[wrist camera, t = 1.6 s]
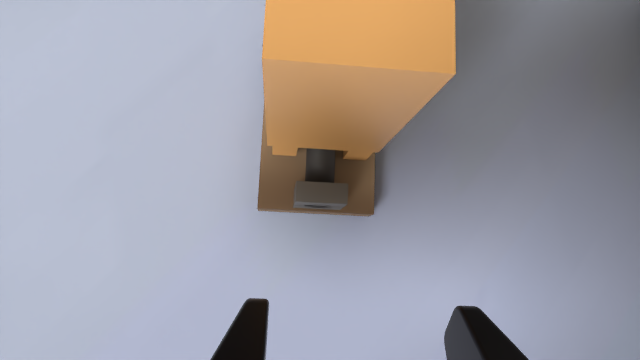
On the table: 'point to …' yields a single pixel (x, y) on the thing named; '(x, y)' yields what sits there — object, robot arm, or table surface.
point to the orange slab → (352, 70)
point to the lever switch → (315, 182)
